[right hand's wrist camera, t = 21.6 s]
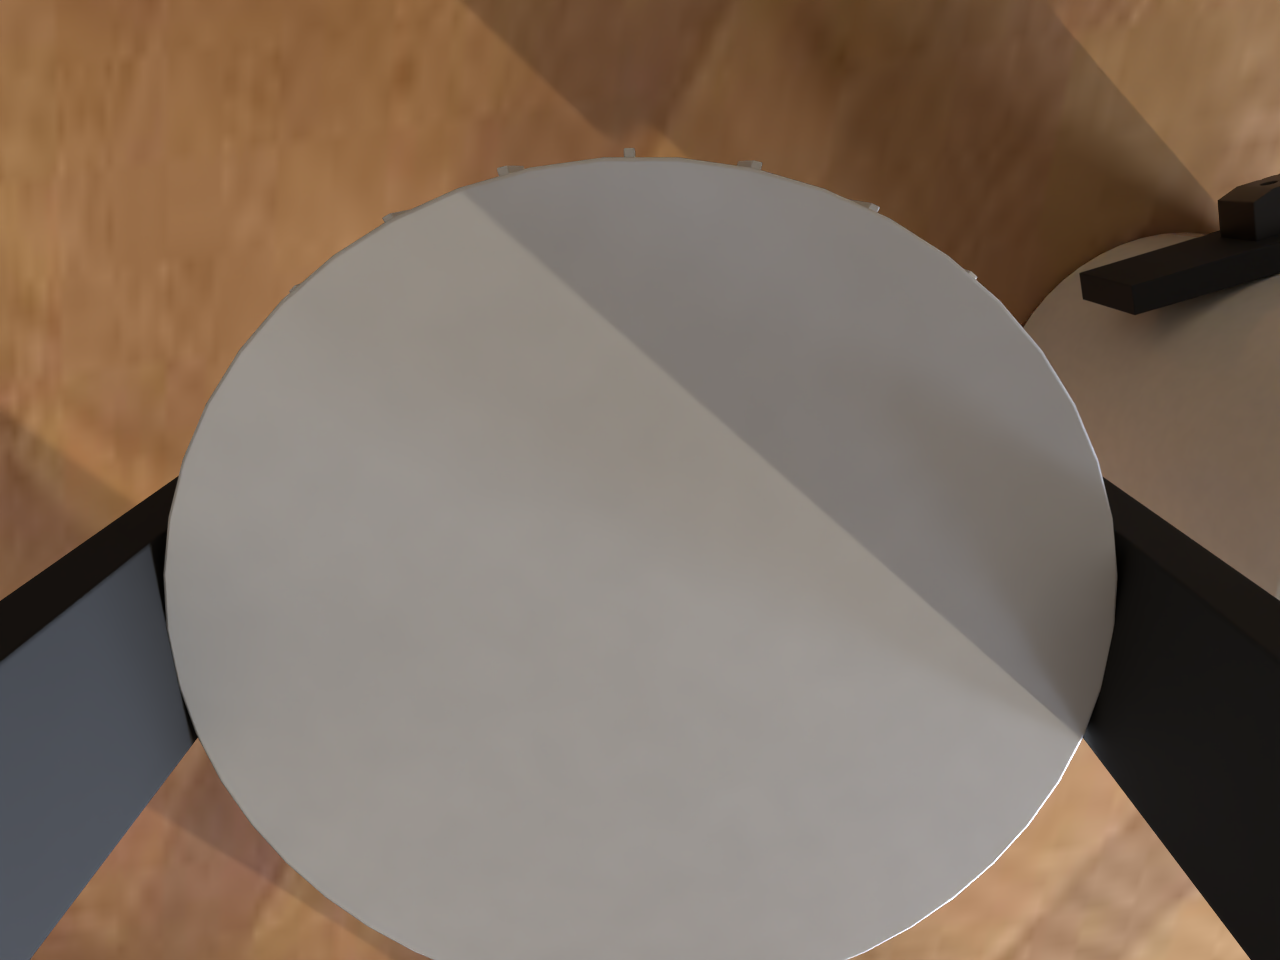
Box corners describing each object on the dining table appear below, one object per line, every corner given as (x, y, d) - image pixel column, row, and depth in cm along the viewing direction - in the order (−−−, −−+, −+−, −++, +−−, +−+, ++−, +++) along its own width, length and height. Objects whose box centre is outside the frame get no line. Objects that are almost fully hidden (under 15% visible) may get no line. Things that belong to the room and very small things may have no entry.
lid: (850, 968, 14) (880, 1082, 13) (173, 790, 13) (99, 890, 11) (1208, 333, 11) (1324, 368, 9) (323, 7, 10) (249, -31, 8)
